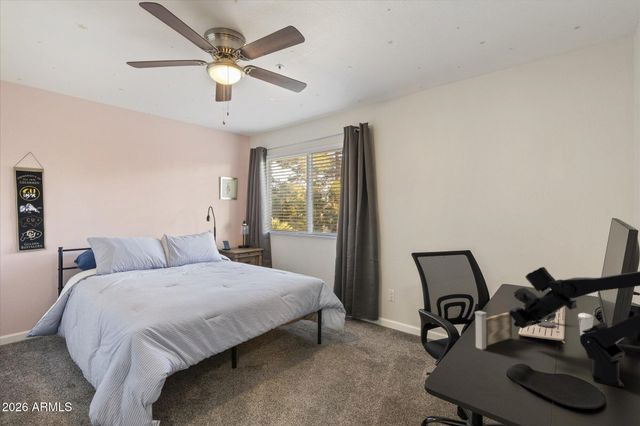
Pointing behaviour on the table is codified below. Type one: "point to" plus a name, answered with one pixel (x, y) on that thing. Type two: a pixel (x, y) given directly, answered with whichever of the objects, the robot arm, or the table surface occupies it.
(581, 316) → the milkshake
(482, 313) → the gate post
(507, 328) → the gate
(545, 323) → the pocket watch
